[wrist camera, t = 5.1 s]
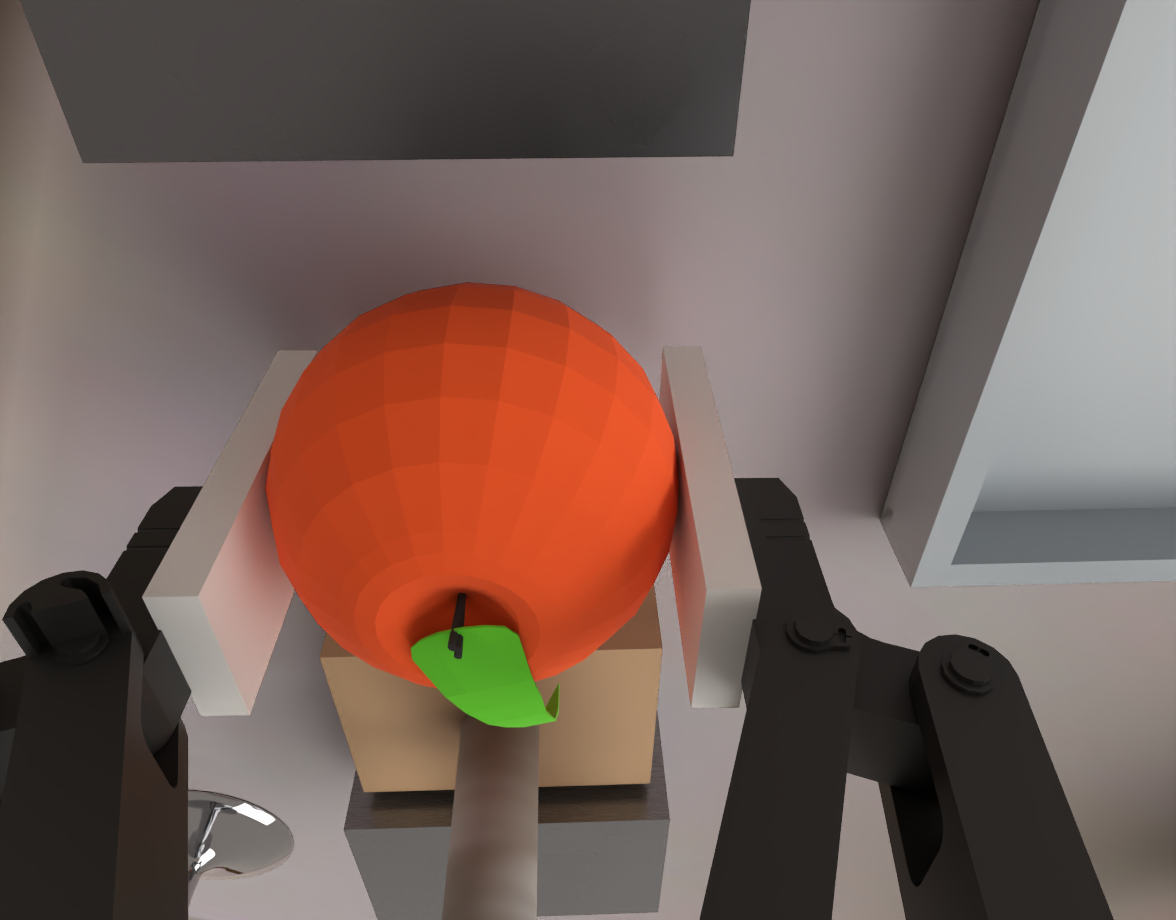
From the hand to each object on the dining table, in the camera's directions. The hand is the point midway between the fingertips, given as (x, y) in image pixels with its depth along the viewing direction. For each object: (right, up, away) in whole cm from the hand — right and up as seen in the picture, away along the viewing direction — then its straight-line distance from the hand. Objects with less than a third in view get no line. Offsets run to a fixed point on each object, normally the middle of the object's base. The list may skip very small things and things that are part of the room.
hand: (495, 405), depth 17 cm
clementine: (0, 0, 0) cm, 1 cm away
